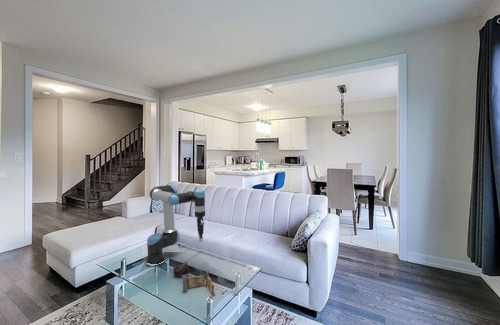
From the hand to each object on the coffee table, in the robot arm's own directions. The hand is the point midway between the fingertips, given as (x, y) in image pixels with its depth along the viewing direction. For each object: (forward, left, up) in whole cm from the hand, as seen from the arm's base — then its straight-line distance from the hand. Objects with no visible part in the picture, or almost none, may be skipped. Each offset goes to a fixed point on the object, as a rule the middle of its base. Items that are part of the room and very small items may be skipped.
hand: (200, 242), depth 169 cm
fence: (+20, +1, -26) cm, 33 cm away
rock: (-9, -13, -27) cm, 31 cm away
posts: (+13, -7, -26) cm, 30 cm away
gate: (+12, -7, -26) cm, 30 cm away
